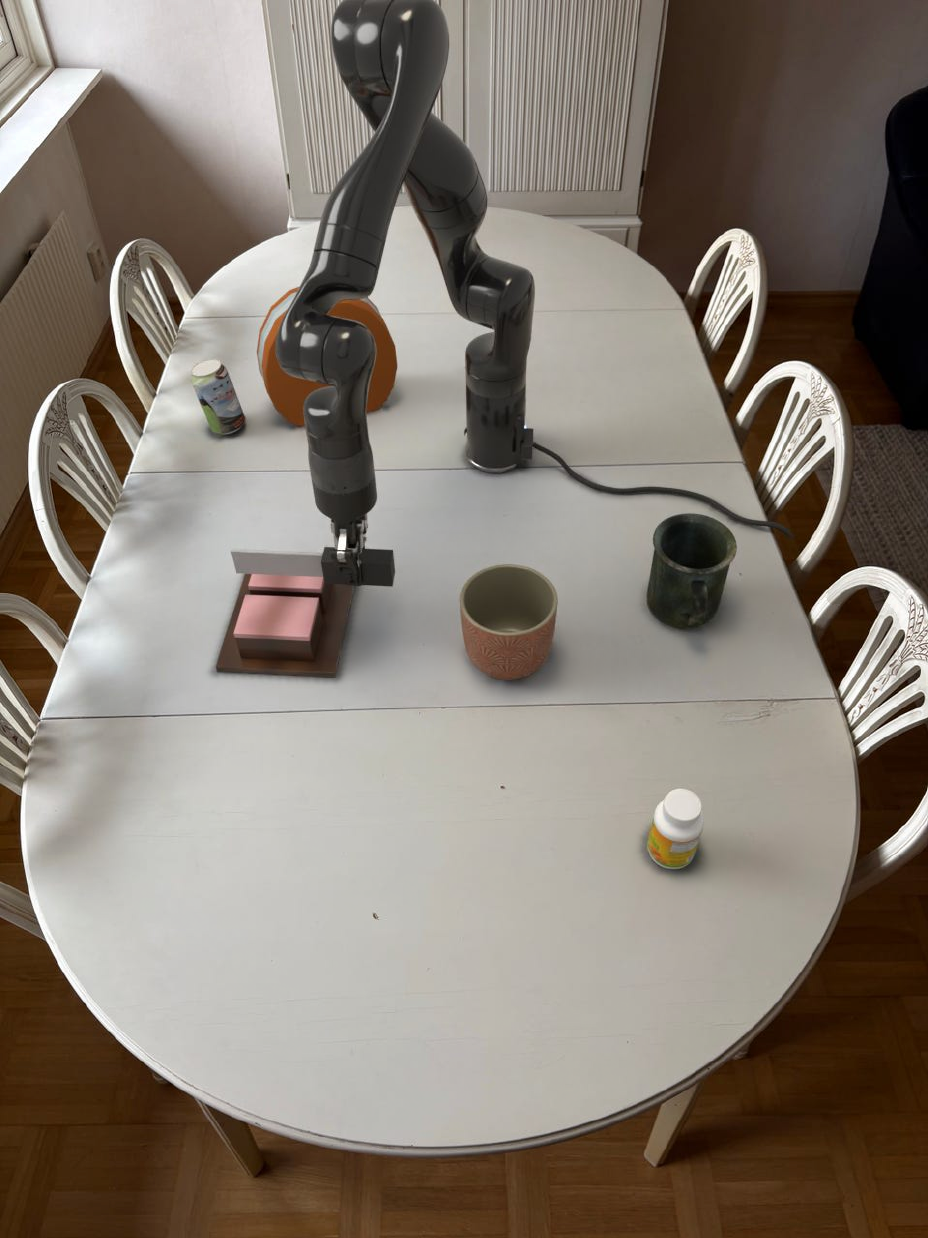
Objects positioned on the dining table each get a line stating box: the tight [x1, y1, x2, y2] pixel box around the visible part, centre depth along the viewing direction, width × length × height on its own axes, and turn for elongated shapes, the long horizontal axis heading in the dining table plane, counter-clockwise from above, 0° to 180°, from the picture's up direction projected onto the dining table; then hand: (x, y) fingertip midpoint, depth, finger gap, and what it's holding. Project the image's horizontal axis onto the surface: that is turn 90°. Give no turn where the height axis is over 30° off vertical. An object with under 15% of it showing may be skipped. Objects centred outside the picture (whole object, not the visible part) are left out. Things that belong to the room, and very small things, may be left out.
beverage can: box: [190, 358, 246, 436], centre depth 164 cm, size 6×7×12 cm
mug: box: [645, 512, 738, 630], centre depth 134 cm, size 11×15×12 cm
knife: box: [230, 546, 396, 588], centre depth 130 cm, size 21×3×4 cm, turn 86°
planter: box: [459, 563, 559, 681], centre depth 130 cm, size 12×12×11 cm
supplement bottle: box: [646, 788, 705, 870], centre depth 110 cm, size 5×5×10 cm
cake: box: [215, 549, 355, 678], centre depth 136 cm, size 16×19×6 cm
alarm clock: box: [256, 285, 398, 427], centre depth 164 cm, size 22×10×23 cm, turn 108°
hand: (356, 573), depth 131 cm, fingers closed on knife, 3 cm apart
